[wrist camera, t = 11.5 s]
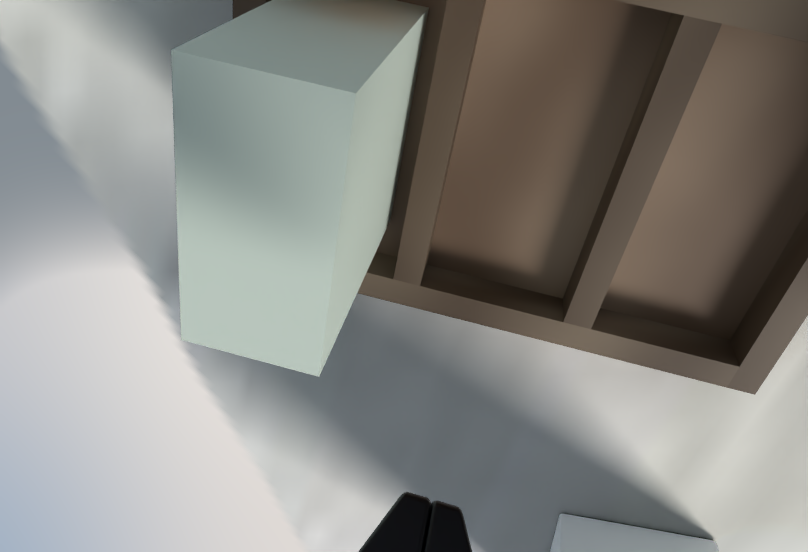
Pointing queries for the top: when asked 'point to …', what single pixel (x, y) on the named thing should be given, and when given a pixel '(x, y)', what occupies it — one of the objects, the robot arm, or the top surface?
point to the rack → (609, 178)
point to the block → (288, 169)
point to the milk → (620, 538)
